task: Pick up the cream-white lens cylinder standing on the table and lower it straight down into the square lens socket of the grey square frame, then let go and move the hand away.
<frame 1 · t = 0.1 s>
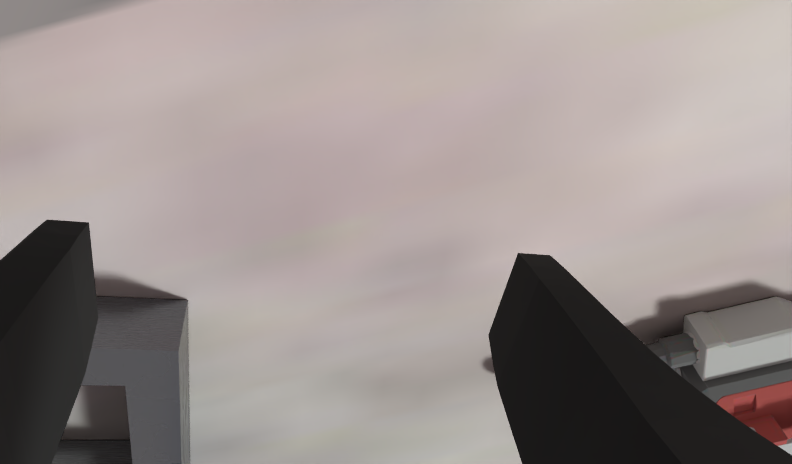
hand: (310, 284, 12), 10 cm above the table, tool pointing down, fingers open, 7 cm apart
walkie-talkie: (716, 360, 31), on the table
grey square frame: (56, 389, 27), on the table
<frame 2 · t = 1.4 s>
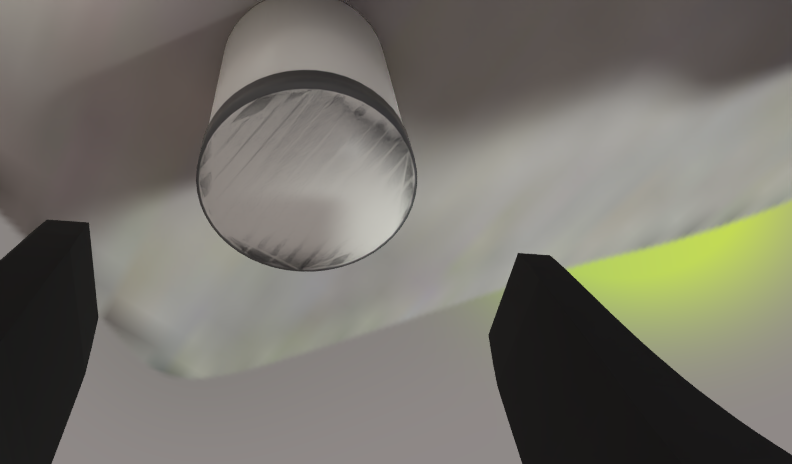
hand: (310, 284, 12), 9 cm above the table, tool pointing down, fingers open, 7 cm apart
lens: (305, 73, 19), on the table
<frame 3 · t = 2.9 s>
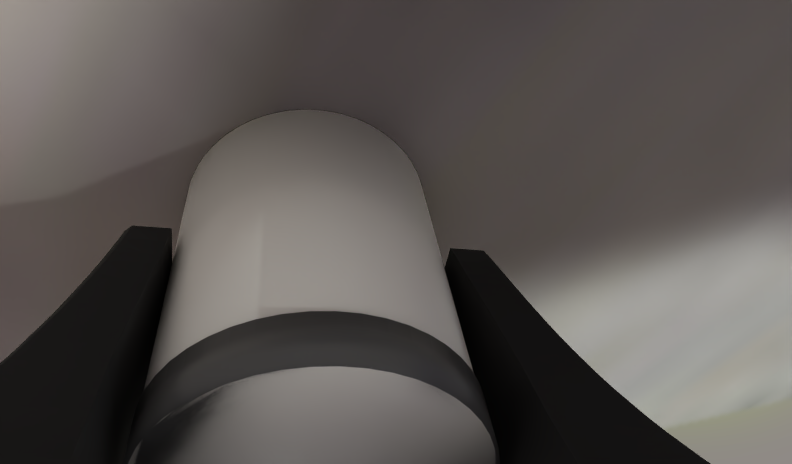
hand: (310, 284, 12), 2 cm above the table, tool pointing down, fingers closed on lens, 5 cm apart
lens: (308, 216, 13), on the table, touching gripper
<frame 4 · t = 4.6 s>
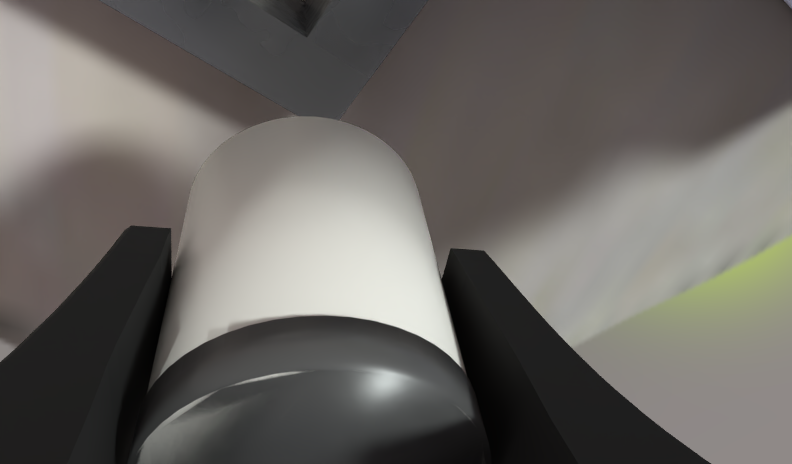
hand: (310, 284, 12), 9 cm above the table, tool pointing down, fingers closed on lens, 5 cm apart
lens: (306, 219, 14), point 7 cm above the table, touching gripper
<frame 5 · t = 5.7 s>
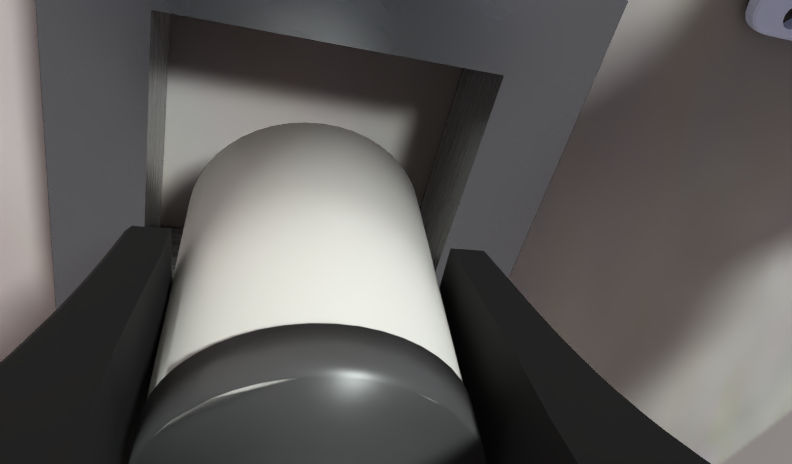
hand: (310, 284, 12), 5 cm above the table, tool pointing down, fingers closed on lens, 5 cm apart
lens: (306, 224, 14), point 3 cm above the table, touching gripper
grey square frame: (307, 133, 16), on the table
when the fingers open (3 cm above the table, at t = 6.6 s): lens stays where it is, resting in grey square frame.
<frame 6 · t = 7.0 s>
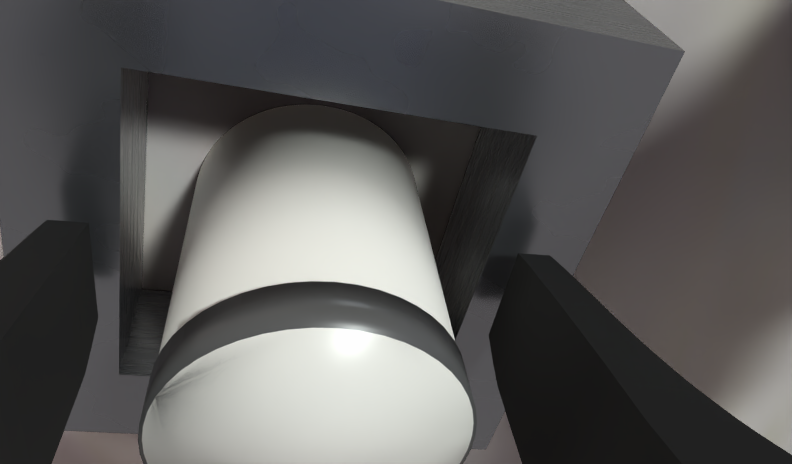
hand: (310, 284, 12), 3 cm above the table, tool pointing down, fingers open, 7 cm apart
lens: (308, 203, 14), resting in grey square frame
grey square frame: (307, 188, 14), on the table
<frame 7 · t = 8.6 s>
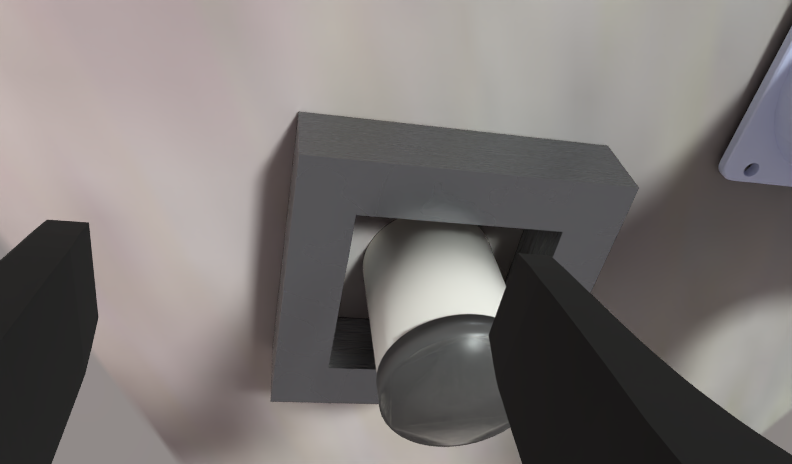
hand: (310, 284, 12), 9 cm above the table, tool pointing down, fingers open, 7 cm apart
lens: (427, 263, 24), resting in grey square frame
grey square frame: (427, 255, 24), on the table
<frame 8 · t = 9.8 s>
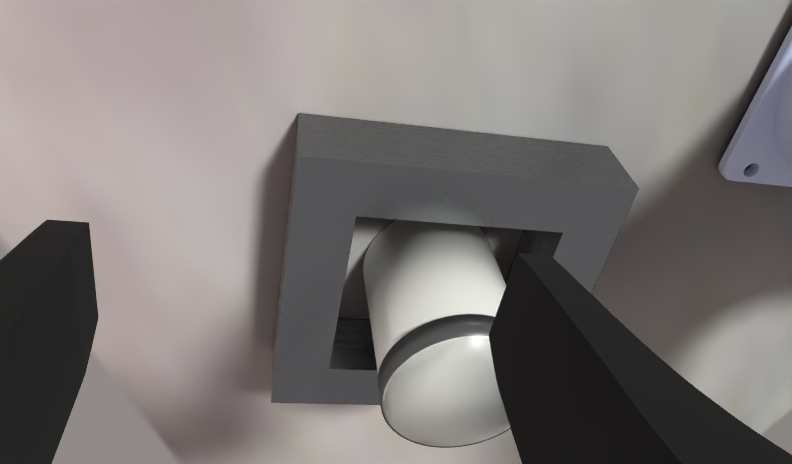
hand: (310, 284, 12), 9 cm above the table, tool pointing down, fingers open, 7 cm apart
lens: (427, 264, 24), resting in grey square frame
grey square frame: (427, 256, 24), on the table
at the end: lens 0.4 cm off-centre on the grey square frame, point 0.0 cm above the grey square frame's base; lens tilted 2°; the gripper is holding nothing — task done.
